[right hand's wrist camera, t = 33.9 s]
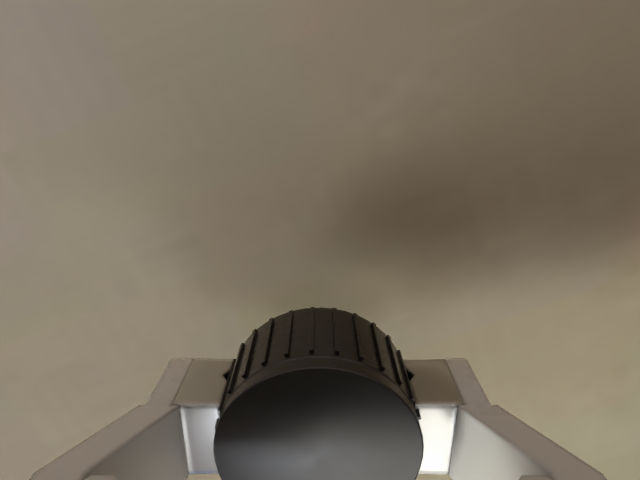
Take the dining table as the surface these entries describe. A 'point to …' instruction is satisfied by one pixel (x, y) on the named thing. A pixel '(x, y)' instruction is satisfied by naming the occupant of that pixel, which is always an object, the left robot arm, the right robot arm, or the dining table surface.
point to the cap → (318, 403)
